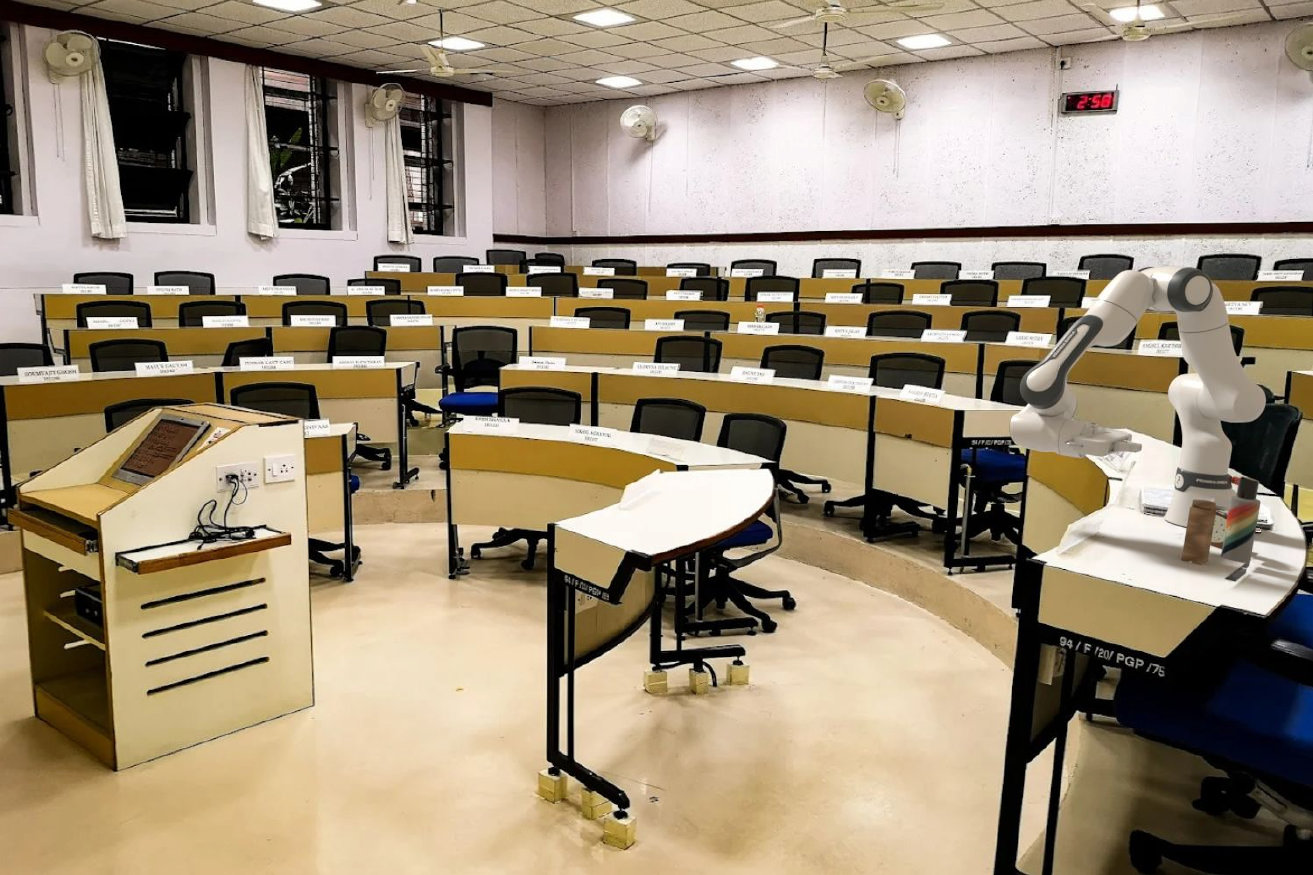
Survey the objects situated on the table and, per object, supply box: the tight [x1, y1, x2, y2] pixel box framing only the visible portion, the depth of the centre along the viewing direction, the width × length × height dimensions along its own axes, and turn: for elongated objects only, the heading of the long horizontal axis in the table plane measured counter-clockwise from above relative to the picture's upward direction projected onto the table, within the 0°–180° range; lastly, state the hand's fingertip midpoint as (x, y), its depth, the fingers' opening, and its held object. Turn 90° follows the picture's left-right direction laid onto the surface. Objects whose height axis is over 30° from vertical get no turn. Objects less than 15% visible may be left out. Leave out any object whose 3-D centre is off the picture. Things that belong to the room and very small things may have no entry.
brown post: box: [1181, 500, 1217, 565], centre depth 207 cm, size 4×8×13 cm, turn 136°
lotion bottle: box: [1220, 475, 1261, 569], centre depth 210 cm, size 6×6×20 cm
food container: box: [1210, 505, 1229, 550], centre depth 222 cm, size 12×6×10 cm, turn 17°
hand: (1139, 448), depth 216 cm, fingers closed
